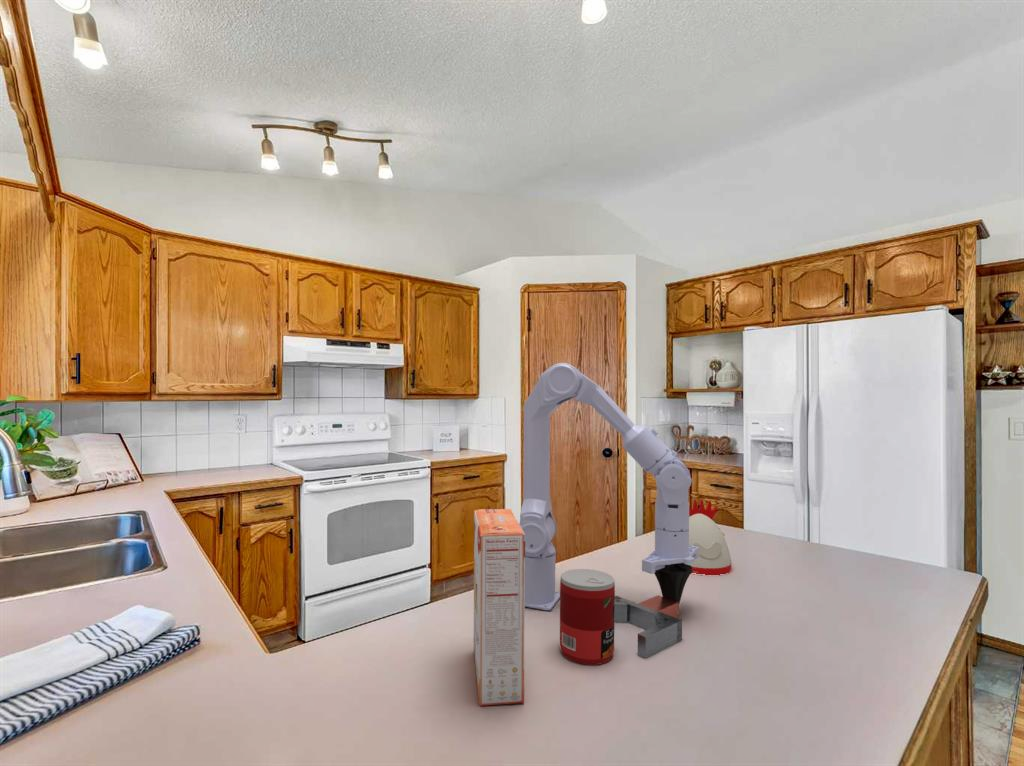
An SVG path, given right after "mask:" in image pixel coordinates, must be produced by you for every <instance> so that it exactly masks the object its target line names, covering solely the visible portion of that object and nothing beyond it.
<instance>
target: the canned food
mask: <svg viewBox="0 0 1024 766" xmlns="http://www.w3.org/2000/svg"><path fill="white" fill-rule="evenodd" d="M559 583H560V584H559V585H560V586H559V593H560V598H559V647H560V650H561V653H562V656H564V657H565V658H566V659H568V660H569V661H571V662H574V663H577V664H581V665H587V664H588V665H589V666H590V665H591V666H594V665H595V664H597V665H603V664H605V663H607V662H609V661H610V660H611V659H612V657H613V655H614V652H615V622H614V618H615V596H616V589H615V586H616V585H615V583H616V582H615V578H614V577H613V575H611V574H609V573H608V572H607V573H606V572H604V571H601V570H597V569H596V570H595V569H589V568H575V569H569V570H566V571H564V572H562V573H561V574H560V581H559ZM595 666H596V665H595Z"/></svg>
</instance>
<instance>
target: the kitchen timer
mask: <svg viewBox="0 0 1024 766" xmlns="http://www.w3.org/2000/svg"><path fill="white" fill-rule="evenodd" d="M717 510H718V506H717V505H714V507H713V508H712V500H708V501H707V504H706V508H705V504H704V501H703V499H700V500H699V506H698V501H697V499H695V498H694V499H693V502H692V507H691V506H690V504H689V545H691V546H695V547H699V558H697V559H695V562H693V563H684V564H687V565H690V566H692V572H691V573H696V574H705V575H719V576H721V575H720V574H725V575H727V574H726V573H728V572H730V571H732V558H731V553H730V550H729V546H728V544H727V541H726V537H725V534H724V533H723V531H722V530H721V528H720V527H719V526H718V525H717V523H716V522H715V521H714V520H713V519H714V516H715V514H716V513H717ZM730 573H731V572H730ZM728 574H729V573H728Z"/></svg>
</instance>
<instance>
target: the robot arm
mask: <svg viewBox="0 0 1024 766" xmlns="http://www.w3.org/2000/svg"><path fill="white" fill-rule="evenodd" d="M574 398H575V399H574ZM572 399H574V401H576V402H580V403H581V404H585V405H589V406H591V407H592V408H593V409H594V410H595V411H596V412H598V414H599V415H600V416H601V417H602V418H603V419H604V420H605V421H607V423H608V424H609V425H610V426H611V427H613V428H614V430H616V431H617V432H618V434H619V435H621V436H622V448H623V449H624V450H625V452H627V454H629V456H631V458H633V460H634V461H635V462H636V463H637V464H638V465H639V466H640V467H641V468H642V469H643V470H644V471H645V473H647V474H651V475H652V476H653V477H654V481H655V483H656V498H655V501H654V550H653V551H652V552H651V553H650V554H649V555H648V556H646V557H645V558H643V559H641V571H642V572H644V573H647V574H650V575H653V574H654V576H655V577H656V579H657V583H658V585H659V589H660V591H661V595H662V597H665V598H668V599H670V600H673V601H676V602H679V605H680V603H681V600H682V597H683V592H684V588H685V585H686V583H687V581H688V579H689V577H690V575H692V574H691V572H692V566H690V565H687V564H684V563H693V562H695V559H697V558H699V547H695V546H691V545H689V505H690V502H689V498H690V497H689V496H690V495H689V489H690V487H691V485H692V482H693V479H692V478H691V473H690V470H689V469H688V467H687V466H686V465H685V463H683V461H682V459H680V458H678V457H677V455H678V453H677V451H675V450H674V449H672V450H671V449H670V448H669V447H668V446H667V445H666V444H665V443H664V442H663V441H662V440H661V439H660V438H659V437H658V436H657V435H658V434H659V432H657V430H655V428H651V429H650V428H649V427H648V425H645V424H644V425H643V424H641V425H640V424H639V425H638V424H635V423H634V422H633V421H632V420H631V418H629V417H628V415H627V414H626V413H625V412H624V411H623V409H621V408H620V407H619V405H617V403H615V401H614V400H613V399H612V398H611V397H610V396H609V395H608V393H606V391H604V389H603V388H602V387H601V386H600V385H598V384H597V383H596V382H595V381H593V380H592V379H590V378H589V377H587V376H586V375H585V374H583V373H582V372H581V370H579V369H578V368H577V367H575V366H573V365H572V364H569V363H568V362H559V363H555V364H553V365H552V366H550V367H549V368H548V369H546V370H545V371H544V372H542V373H541V374H540V376H539V379H538V381H537V383H536V384H535V385H534V387H533V389H532V390H531V392H530V394H529V395H528V397H527V398H526V400H525V402H524V406H523V501H522V505H521V509H520V513H519V515H520V516H519V522H518V523H519V524H520V526H521V528H522V530H523V531H524V533H525V608H532V609H537V610H545V611H551V610H552V609H553V608H554V607H555V605H556V603H557V602H558V601H560V591H559V592H557V591H556V556H557V555H556V553H557V552H556V548H555V546H554V545H553V542H552V540H553V539H554V537H555V536H556V533H557V522H556V520H555V518H554V516H553V512H552V510H553V507H552V500H551V498H550V497H551V492H550V491H551V484H550V483H551V482H550V481H551V459H550V457H551V452H550V451H551V432H550V431H551V414H552V413H554V412H555V411H556V410H557V409H558V408H560V407H561V406H562V404H564V403H566V402H567V401H570V400H572Z"/></svg>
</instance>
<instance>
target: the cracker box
mask: <svg viewBox="0 0 1024 766" xmlns="http://www.w3.org/2000/svg"><path fill="white" fill-rule="evenodd" d="M512 510H513V509H512V508H499V509H498V508H497V509H495V508H479V509H475V510H474V513H473V540H474V541H473V553H474V554H473V655H474V667H475V675H476V686H477V695H478V705H479V707H483V706H484V707H485V706H498V705H513V704H514V705H515V704H524V703H525V618H526V617H525V608H526V607H525V533H524V531H523V530H522V528H521V526H520V524H519V523H520V522H519V521H518V519H517V518H516V516H515V514H514V512H513V511H512Z"/></svg>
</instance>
